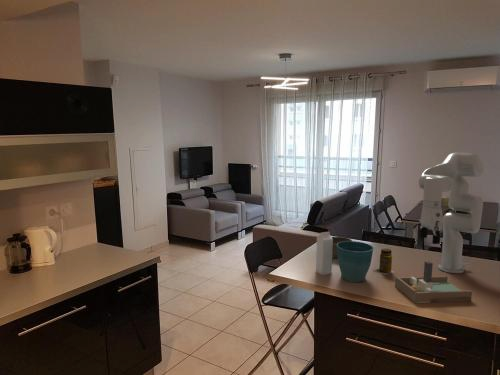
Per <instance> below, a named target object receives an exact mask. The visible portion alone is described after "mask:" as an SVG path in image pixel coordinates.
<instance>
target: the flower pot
mask: <svg viewBox="0 0 500 375" xmlns="http://www.w3.org/2000/svg"><path fill="white" fill-rule="evenodd" d="M374 249H375V248H374V246H373V245H371V244H369V243H365V242H362V241H357V240H355V241H354V240H352V241H343V242H339V243H338V244H337V256H338V258H337V263H338V267H339V271H340V276H341V278H342V279H343V280H345V281H347V282H354V283H355V282H356V283H358V282H364V281H365V280H366V277H367V275H368V271H369V270H370V267H371V265H372V258H373V253H374V252H373V251H374Z"/></svg>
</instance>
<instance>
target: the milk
mask: <svg viewBox="0 0 500 375" xmlns="http://www.w3.org/2000/svg"><path fill="white" fill-rule="evenodd" d="M332 237H333V236H332V235H331V233H330V231H323V232H320V234H319V236H317V237H316V258H315V260H316V261H315V262H316V263H315V272H317V273H318V274H320V275H322V276H324V275H330V274H331V275H332V273H333V272H332V270H333V257H332V247H333V239H332Z"/></svg>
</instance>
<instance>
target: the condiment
mask: <svg viewBox="0 0 500 375" xmlns="http://www.w3.org/2000/svg"><path fill="white" fill-rule="evenodd" d="M392 254H393V253H392V250H391V249H389V248H382V249H380V255H379V267H378V268H377V269H374V270H373V271H374V272H376V273H378V274H380V275H384V276H386V275H389V274H392V273H395V271H394V270H392V262H393V255H392Z"/></svg>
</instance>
